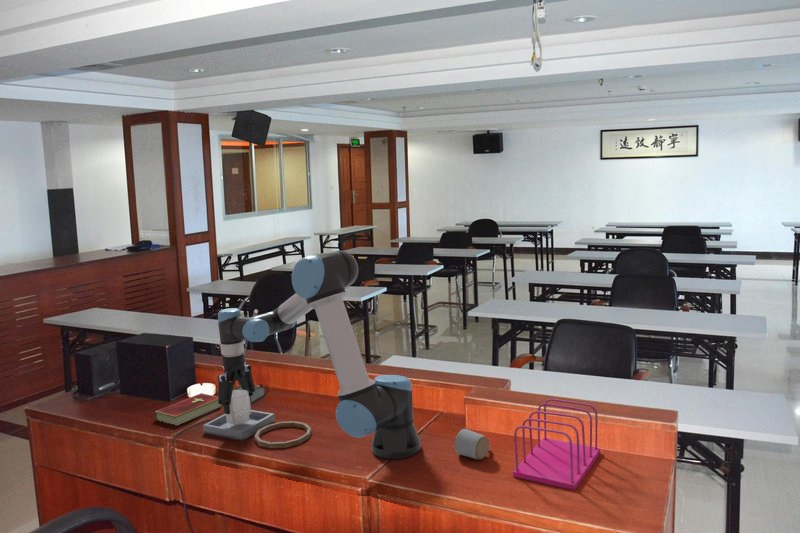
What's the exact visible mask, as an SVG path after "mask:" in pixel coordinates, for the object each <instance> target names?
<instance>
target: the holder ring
mask: <svg viewBox="0 0 800 533" xmlns="http://www.w3.org/2000/svg"><path fill="white" fill-rule="evenodd" d="M289 427H290V428H291V427H293V428H294V427H295V428H298V429H303V430H305V431H306V433H305V434H303V435H301V436H300V437H298V438H295V439H291V440H286V441H275V442H273V441H272V442H270V441H267V440H264V439H263V440H262V439H261V438H260V437H261V436H262V435H263V434H265V433H267V432H269V431H270V430H275V429H279V428H289ZM311 435H312V428H311V427H310V426H309V424H307V423H305V422H301V421H296V420H295V421H291V420H290V421H279V422H274V423H272V424H270V425H267V426H265V427H263V428H261V429H259V430H258V431H257V433H255V434H254V435H253V436H254V441H255V443H256V442H257V443H256V444H257V445H258V446H259V447H264V448H268V449H282V448H283V449H284V448H289V447H293V446H297V445H300V444H302V443H304V442H305V441H307V440H309V439H310V437H311Z"/></svg>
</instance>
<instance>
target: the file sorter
mask: <svg viewBox="0 0 800 533" xmlns="http://www.w3.org/2000/svg"><path fill="white" fill-rule="evenodd" d="M548 402H559V403H564V404H565V403H567V404H573V405H579V406H584V407H590V408H591V409H592V410H593V411H594V416H595V419H594V420H595V423H594V424H595V430H594V431H595V432H594V433H595V434H594V436H595V439H594V440H595V441H594V442H595V443H594V444H595V445H594V446H593V418H592V417H593V416H592V415H591V413H590V412H589V411H588V410H586V409H585V408H579V407H573V406H568V405H561V404H555V403H548ZM547 406H549V407H556V408H561V409H567V410H568V409H569V410H575V411H578V412H579V411H582V412H585V413H586V414H587V415H588V417H589V445H586V439H585V438H586V436H585V435H586V434H585V424H584V422H583V420H582V419H581V418H580V417H578V416H577V415H571V414H566V413H558V412H549V411H547ZM542 407H543V411H541V408H542ZM536 414H537V418H532V416H533V415H536ZM541 414H543V419H541ZM547 415H550V416H558V417H559V416H560V417H566V418H573V419H576V420H577V421H578V422H580V425H581V438H582V444H580V434H579V430H578V429H577V428H576V427H575V426H574V425H572V424H570V423H566V422H561V421H560V422H559V421H554V420H553V421H551V420H547ZM598 419H599V418H598V411H597V408H595V406H594V405H592V404H589V403H584V402H578V401H572V400H564V399H557V398H548V399H547V400H546V401H544V402H543V403H541V404H540V405H539V406H538V408H537V410H534V411H532V412H531V413H530V414H529V416H528V417H527V418H526V419H524V421H523V422H522V424H521V425H519V426H518V427H515V429H514V434H513V435H514V436H513V437H514V440H513V441H514V456H515V469H514V470H513V471H512V475H513V476H512V477H514V478H517V479H523V480H527V481H530V482H537V483H540V484H545V485H549V486H554V487H559V488H562V489H567V490H571V491H576V489H577V488H578V487H579V485H580V484H581V482H582V481H583V480H584V478H585V476H586V474H587V473H588V472H589V470H590V469H591V468H592V466H593V464H594V463H595V462H596V461H597V459H598V457H599V456H600V455H601V448H600V447H598ZM532 421H533V422H537V427H536V426H535V427H533V426H532ZM527 422H528V425H525V424H526V423H527ZM541 423H543V427H541ZM547 424H551V425H552V424H553V425H560V426H566V427H571V428H572V429H573V430H574V431H575V434H576V443H575V442H573V441H572V438H571V437H570V435H569V434H568V433H567V432H564V431H562V430H555V429H549V428H547ZM519 429H522V431H521V432H522V433H521V434H522V451H523V452H522V453H523V460H522V461H521V462H520V463H519V456H518V441H517V440H518V439H517V435H518V434H517V432H518V430H519ZM525 429H526V430H527V429H528V430H529V445H530V452H528V454H527V453H526V450H527V449H526V436H525V435H526V434H525V433H526V430H525ZM533 430H535V431H536V430H537V444H536V445H535V446H533V445H534V444H533ZM541 431H542V432H544V433H543V434H544V437H543V438H542V439H541ZM547 432H548V433H555V434H561V435H564V436H566V437H567V439H568V441H564V440H559V439H558V440H557V439H554V438H547V435H548V434H547ZM533 447H534V448H533ZM526 454H527V455H526Z"/></svg>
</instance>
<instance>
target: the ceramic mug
mask: <svg viewBox="0 0 800 533" xmlns="http://www.w3.org/2000/svg"><path fill="white" fill-rule="evenodd" d="M490 449H491V446H490V442H489V439H488V438H487V437H486V436H485V435H483V434H481V433H478V432H475V431H473V430H470V429H468V428H463V429H461V430H460V431H459V432H457V434H456V437H455V441H454V450H455V452H456V454H457V455H460V456H462V457H463V456H464V457H467V458H471V459H474V460H479V461H480V460H483V459H484V458H485V457H486V456H487V454H488V452H489V451H490Z"/></svg>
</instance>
